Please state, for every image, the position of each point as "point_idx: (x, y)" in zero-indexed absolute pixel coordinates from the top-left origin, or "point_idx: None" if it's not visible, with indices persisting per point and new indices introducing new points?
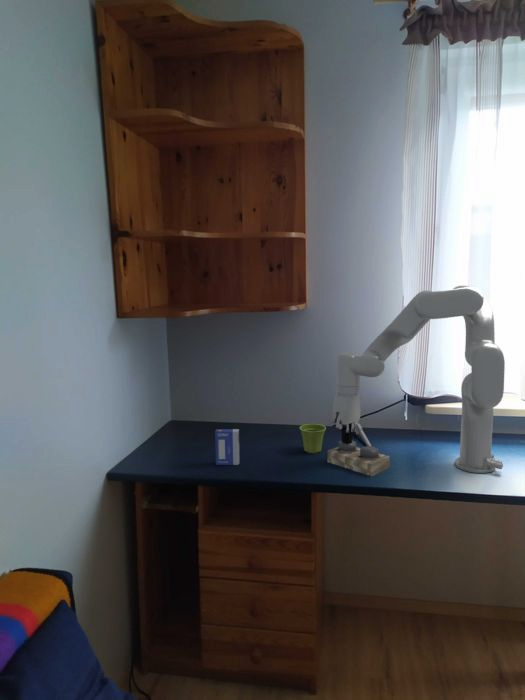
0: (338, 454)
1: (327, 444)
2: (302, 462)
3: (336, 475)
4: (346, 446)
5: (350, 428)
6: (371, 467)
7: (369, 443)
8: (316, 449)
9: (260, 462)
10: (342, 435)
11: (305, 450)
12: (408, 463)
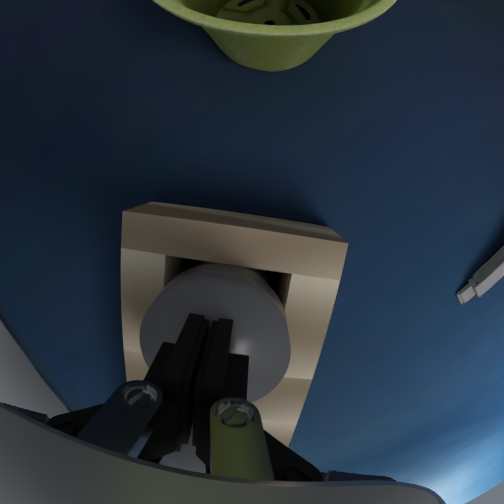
0: (123, 304)
1: (415, 57)
2: (76, 104)
3: (62, 322)
4: None
5: (206, 472)
6: None
7: (494, 279)
8: (235, 59)
9: (18, 8)
10: (151, 368)
11: (217, 8)
12: (355, 457)
